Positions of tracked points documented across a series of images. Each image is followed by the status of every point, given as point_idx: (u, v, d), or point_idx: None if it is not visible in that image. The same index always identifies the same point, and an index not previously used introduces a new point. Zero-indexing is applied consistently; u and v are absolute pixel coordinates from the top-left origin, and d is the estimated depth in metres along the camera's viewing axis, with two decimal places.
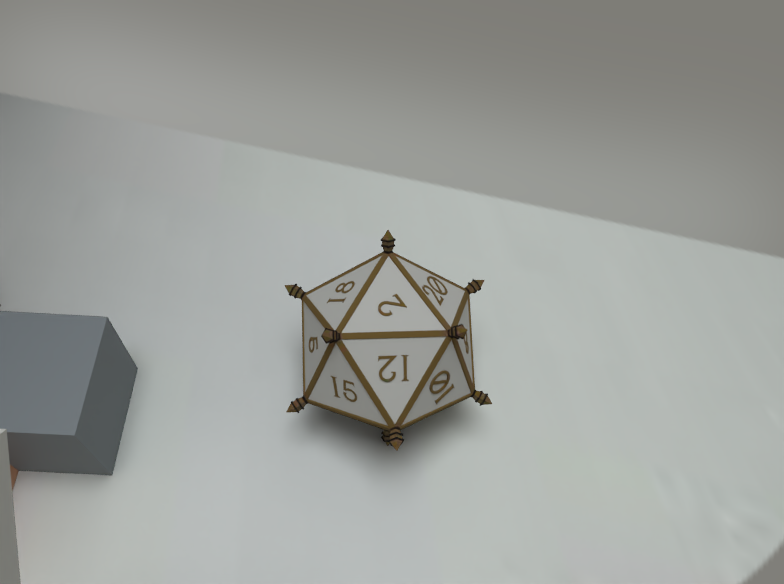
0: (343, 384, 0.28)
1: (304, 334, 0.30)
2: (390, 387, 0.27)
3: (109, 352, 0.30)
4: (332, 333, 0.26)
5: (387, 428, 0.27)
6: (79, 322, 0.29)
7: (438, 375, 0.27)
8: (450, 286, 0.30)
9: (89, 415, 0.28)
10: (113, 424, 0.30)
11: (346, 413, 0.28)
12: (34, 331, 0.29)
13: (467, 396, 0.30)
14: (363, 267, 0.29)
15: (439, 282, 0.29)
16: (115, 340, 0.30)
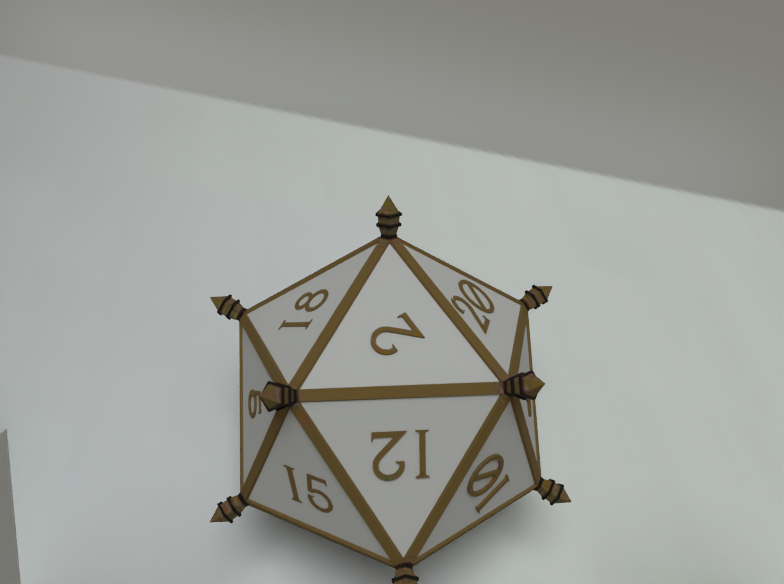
0: (307, 482, 0.15)
1: (243, 383, 0.17)
2: (394, 490, 0.14)
3: None
4: (280, 392, 0.13)
5: (389, 564, 0.15)
6: None
7: (484, 464, 0.15)
8: (497, 297, 0.17)
9: None
10: None
11: (314, 530, 0.16)
12: None
13: (529, 490, 0.17)
14: (344, 264, 0.16)
15: (478, 291, 0.17)
16: None
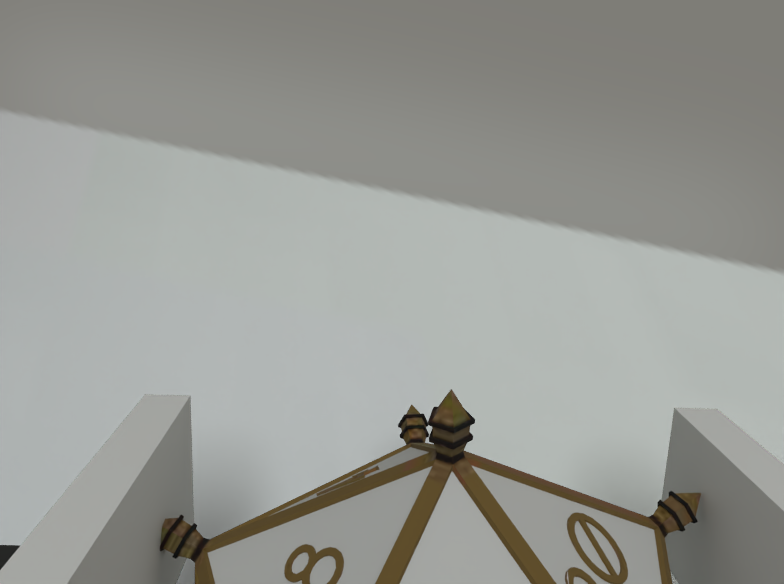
0: None
1: None
2: None
3: None
4: None
5: None
6: None
7: None
8: (622, 530, 0.10)
9: None
10: None
11: None
12: None
13: None
14: (371, 499, 0.09)
15: (596, 529, 0.10)
16: None
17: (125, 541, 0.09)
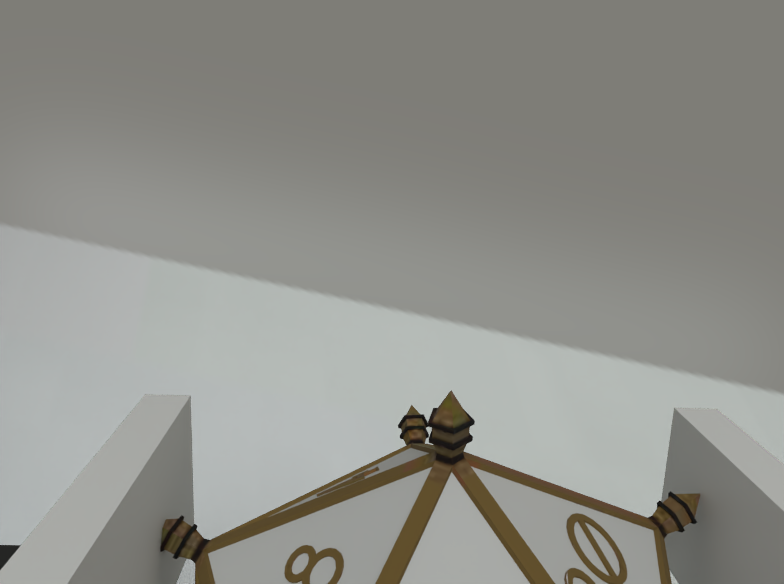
0: None
1: None
2: None
3: None
4: None
5: None
6: None
7: None
8: (622, 530, 0.10)
9: None
10: None
11: None
12: None
13: None
14: (371, 499, 0.09)
15: (596, 529, 0.10)
16: None
17: (125, 541, 0.09)
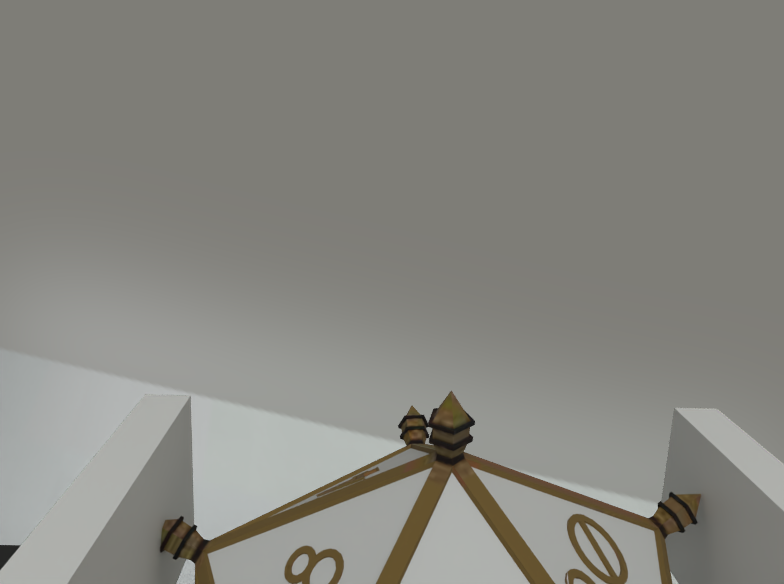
0: None
1: None
2: None
3: None
4: None
5: None
6: None
7: None
8: (623, 531, 0.10)
9: None
10: None
11: None
12: None
13: None
14: (371, 500, 0.09)
15: (596, 530, 0.10)
16: None
17: (125, 541, 0.09)
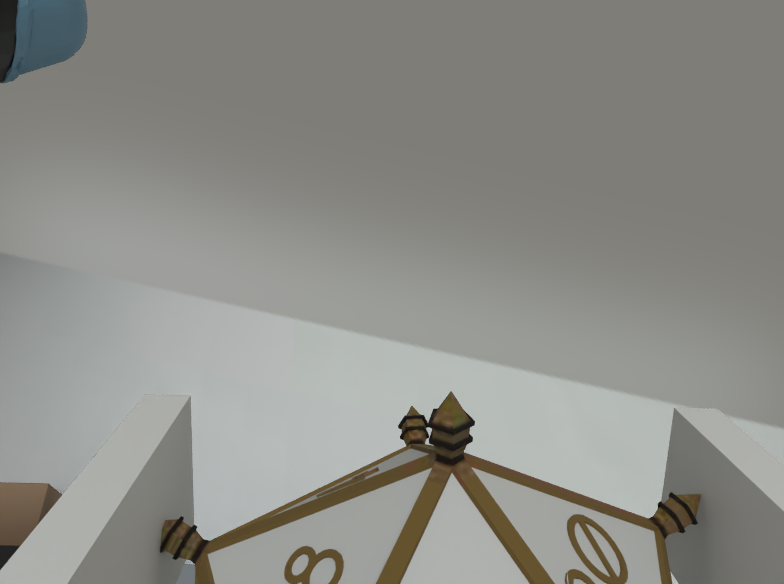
0: None
1: None
2: None
3: None
4: None
5: None
6: (181, 572, 0.29)
7: None
8: (623, 531, 0.10)
9: None
10: None
11: None
12: None
13: None
14: (371, 500, 0.09)
15: (596, 530, 0.10)
16: None
17: (125, 541, 0.09)
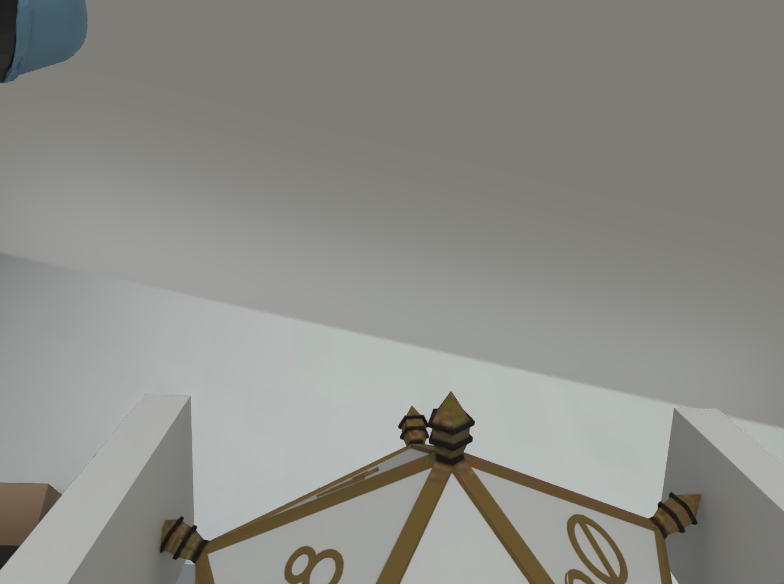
0: None
1: None
2: None
3: None
4: None
5: None
6: (181, 572, 0.29)
7: None
8: (623, 531, 0.10)
9: None
10: None
11: None
12: None
13: None
14: (371, 500, 0.09)
15: (596, 530, 0.10)
16: None
17: (125, 541, 0.09)
